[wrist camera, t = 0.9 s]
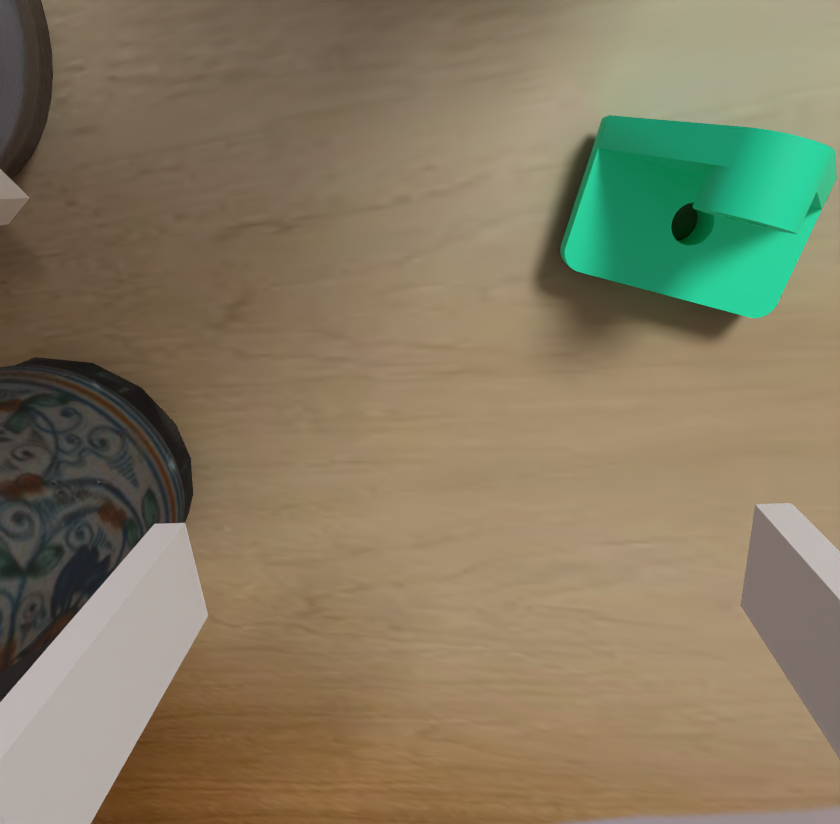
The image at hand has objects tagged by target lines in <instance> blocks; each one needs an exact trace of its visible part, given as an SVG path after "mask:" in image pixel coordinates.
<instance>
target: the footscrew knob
mask: <svg viewBox="0 0 840 824" xmlns="http://www.w3.org/2000/svg"><path fill="white" fill-rule="evenodd" d="M29 199H30V198H29V197H28V196H27V195H26V194H25V193H24V192H23V191H22V190H21V189H20V188H19V187H18V186H17V185H16V184H15V183H14V182H13V181H12V180H11V179H10V178H9V177H8V176H7V175H6V174H5V173H4V172H3V171H2V170H1V169H0V225H7V224H9V223H10V222H11V221H12V219H13V218H14V217H15V216H16V215H17V213H18V212H19V211H20V210H21V208H22V207H23V206H24V205H25V203H26V202H27V201H28V200H29Z"/></svg>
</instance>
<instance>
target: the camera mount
mask: <svg viewBox="0 0 840 824" xmlns="http://www.w3.org/2000/svg"><path fill="white" fill-rule="evenodd" d="M836 178H837V177H836V159H835V150H834V149H832V148H831V147H829V146H827V145H825V144H822V143H819V142H817V141H813V140H810V139H807V138H803V137H799V136H795V135H791V134H787V133H782V132H777V131H771V130H765V129H758V128H749V127H738V126H726V125H714V124H703V123H691V122H679V121H668V120H656V119H644V118H632V117H621V116H607V117H604V118H602V121H601V124H600V127H599V130H598V133H597V136H596V139H595V142H594V145H593V148H592V151H591V154H590V158H589V161H588V164H587V167H586V170H585V173H584V176H583V179H582V182H581V185H580V188H579V191H578V194H577V197H576V200H575V203H574V207H573V210H572V213H571V216H570V219H569V222H568V225H567V228H566V231H565V234H564V237H563V240H562V243H561V247H560V253H561V257H562V259H563V261H564V262H565V263H566V264H567V265H568V266H569V267H570V268H572V269H573V270H575V271H577V272H581V273H585V274H588V275H592V276H596V277H600V278H603V279H607V280H611V281H615V282H618V283H622V284H626V285H630V286H633V287H637V288H641V289H645V290H649V291H652V292H656V293H660V294H664V295H667V296H671V297H675V298H679V299H682V300H686V301H690V302H694V303H697V304H701V305H705V306H709V307H713V308H716V309H720V310H724V311H728V312H731V313H735V314H739V315H743V316H746V317H750V318H760V317H763V316H765V315H767V314H769V313H770V312H771V311H772V310H773V309H774V308H775V307H776V305H777V303H778V301H779V299H780V297H781V295H782V293H783V291H784V289H785V286H786V284H787V282H788V280H789V278H790V276H791V274H792V272H793V270H794V267H795V265H796V263H797V261H798V259H799V257H800V255H801V253H802V250H803V248H804V246H805V244H806V242H807V240H808V238H809V236H810V233H811V231H812V229H813V227H814V225H815V223H816V221H817V219H818V217H819V214H820V212H821V210H822V208H823V206H824V204H825V202H826V200H827V197H828V195H829V193H830V191H831V189H832V187H833V185H834V183H835V180H836ZM689 203H690V204H691V205H692V206H693V207H692V208H694V209H695V210H696V212H697V224H696V226H695V229H694V230H693V232H692V233H691V234H690V235H689V236H688V237H686V238H684V239H682V240H679V241H677V240H676V239H675V238H674V236H673V234H672V229H671V225H672V220H673V218H674V216H675V214H676V213H677V211H678V210H679V209H680V208H681V207H683V206H684V205H686V204H689Z"/></svg>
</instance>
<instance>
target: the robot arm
mask: <svg viewBox="0 0 840 824" xmlns="http://www.w3.org/2000/svg"><path fill="white" fill-rule="evenodd" d="M741 607H742V608H743V610H744V611H745V613H746V615H747V616H748V618H749V619H750V621H751V622H752V624H753V625H754V627H755V628H756V630H757V632H758V633H759V635H760V636H761V638H762V639H763V641H764V642H765V644H766V646H767V647H768V649H769V650H770V652H771V653H772V655H773V656H774V658H775V659H776V661H777V663H778V664H779V666H780V667H781V669H782V670H783V672H784V673H785V675H786V677H787V678H788V680H789V681H790V683H791V684H792V686H793V687H794V689H795V690H796V692H797V694H798V695H799V697H800V698H801V700H802V701H803V703H804V704H805V706H806V708H807V709H808V711H809V712H810V714H811V715H812V717H813V718H814V720H815V721H816V723H817V725H818V726H819V728H820V729H821V731H822V732H823V734H824V735H825V737H826V739H827V740H828V742H829V743H830V745H831V746H832V748H833V749H834V751H835V752H836V754H837V756H838V757H839V759H840V551H839V550H838V549H837V548H836V547H835V546H834V545H833V544H832V543H831V542H830V541H829V540H828V539H827V538H826V537H825V536H824V535H823V534H822V533H821V532H820V531H819V530H818V529H817V528H816V527H815V526H814V525H813V524H812V523H811V522H810V521H809V520H808V519H807V518H806V517H805V516H804V515H803V514H802V513H801V512H800V511H799V510H798V509H797V508H796V507H795V506H794V505H793V504H792V503H782V504H755V510H754V517H753V524H752V531H751V537H750V544H749V551H748V558H747V565H746V572H745V579H744V586H743V593H742V600H741ZM207 617H208V613H207V609H206V605H205V601H204V597H203V593H202V589H201V585H200V581H199V577H198V573H197V569H196V565H195V561H194V556H193V552H192V548H191V544H190V540H189V536H188V532H187V528H186V524H185V523H165V524H154V525H153V526H152V527H151V528H150V530H149V531H148V532H147V533H146V534H145V535H144V537H143V538H142V539H141V540H140V541H139V542H138V544H137V545H136V546H135V547H134V548H133V549H132V550H131V552H130V553H129V554H128V555H127V556H126V557H125V559H124V560H123V561H122V562H121V563H120V564H119V566H118V567H117V568H116V569H115V570H114V571H113V572H112V574H111V575H110V576H109V577H108V578H107V579H106V581H105V582H104V583H103V584H102V585H101V586H100V588H99V589H98V590H97V591H96V592H95V593H94V594H93V596H92V597H91V598H90V599H89V600H88V601H87V603H86V604H85V605H84V606H83V607H82V608H81V610H80V611H79V612H78V613H77V614H76V615H75V616H74V618H73V619H72V620H71V621H70V622H69V623H68V625H67V626H66V627H65V628H64V629H63V630H62V631H61V633H60V634H59V635H58V636H57V637H56V638H55V640H54V641H53V642H52V643H51V644H50V645H49V647H48V648H47V649H46V650H45V651H37V652H30V653H29V654H28V655H26V656H25V657H23V658H22V659H21V660H19V661H18V662H16V663H15V664H14V665H12V666H11V667H9V668H8V669H7V670H5V671H4V672H3V673H2V674H1V675H0V824H91V822H92V820H93V819H94V817H95V815H96V813H97V811H98V810H99V808H100V806H101V804H102V803H103V801H104V799H105V797H106V796H107V794H108V792H109V790H110V788H111V787H112V785H113V783H114V781H115V780H116V778H117V776H118V774H119V773H120V771H121V769H122V767H123V765H124V764H125V762H126V760H127V758H128V757H129V755H130V753H131V751H132V750H133V748H134V746H135V744H136V742H137V741H138V739H139V737H140V735H141V734H142V732H143V730H144V728H145V727H146V725H147V723H148V721H149V719H150V718H151V716H152V714H153V712H154V711H155V709H156V707H157V705H158V704H159V702H160V700H161V698H162V696H163V695H164V693H165V691H166V689H167V688H168V686H169V684H170V682H171V681H172V679H173V677H174V675H175V673H176V672H177V670H178V668H179V666H180V665H181V663H182V661H183V659H184V658H185V656H186V654H187V652H188V650H189V649H190V647H191V645H192V643H193V642H194V640H195V638H196V636H197V635H198V633H199V631H200V629H201V627H202V626H203V624H204V622H205V620H206V619H207Z"/></svg>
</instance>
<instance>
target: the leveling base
mask: <svg viewBox="0 0 840 824" xmlns="http://www.w3.org/2000/svg"><path fill="white" fill-rule="evenodd" d="M52 77H53V73H52V51H51V44H50V38H49V31H48V25H47V22H46V18H45V14H44V10H43V6H42V3H41V0H0V169H1V170H2V171H3V172H4V173H5V174H6V175H7V176H8V177H9V178H10V179H12V178H13V177H14V176H15V175H16V174H17V173H18V172H19V171H20V170H21V169H22V167H23V166H24V165H25V163H26V162H27V161H28V159H29V158H30V157H31V155H32V153H33V151H34V149H35V147H36V145H37V143H38V142H39V140H40V137H41V134H42V131H43V128H44V126H45V123H46V120H47V115H48V110H49V105H50V100H51V90H52Z"/></svg>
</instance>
